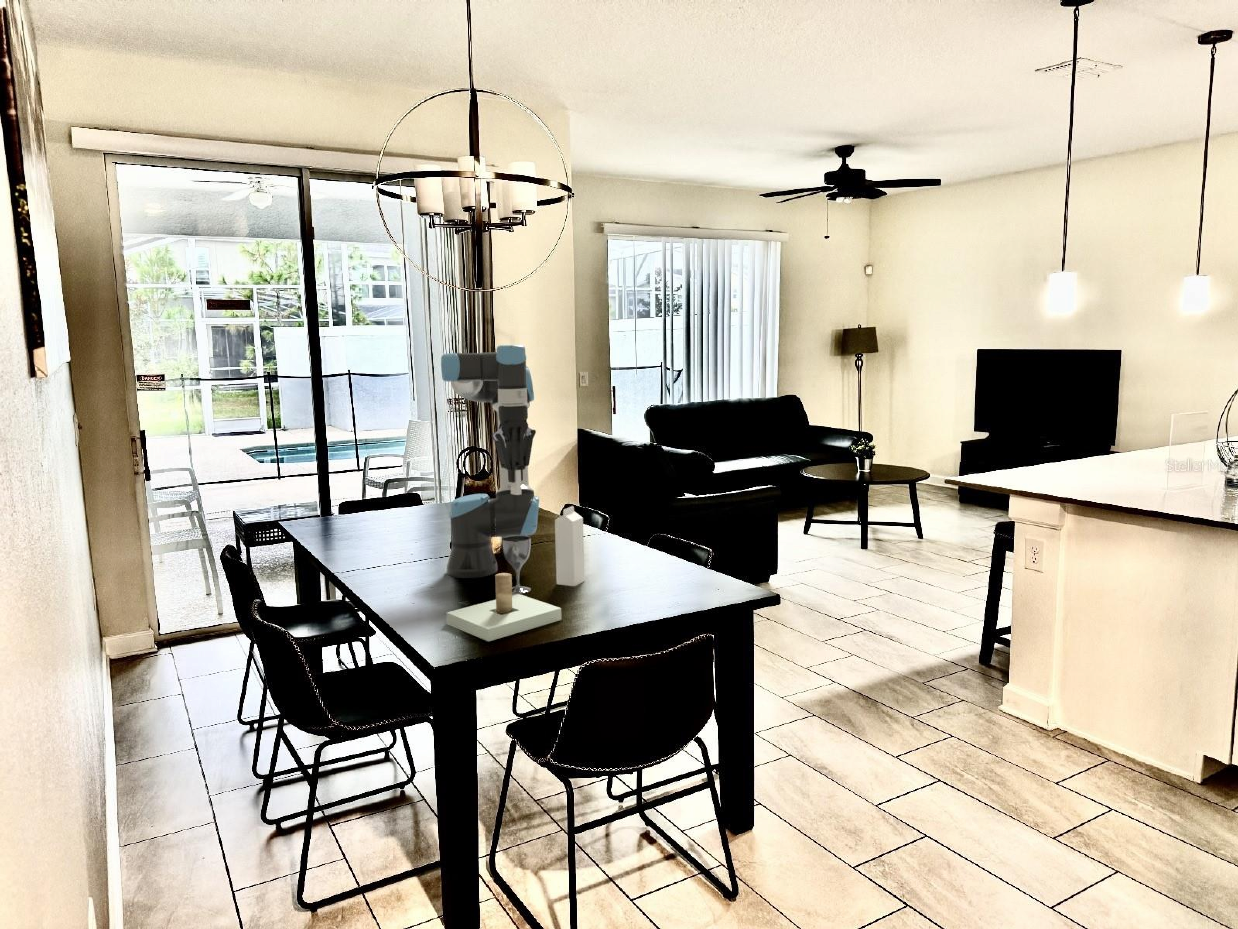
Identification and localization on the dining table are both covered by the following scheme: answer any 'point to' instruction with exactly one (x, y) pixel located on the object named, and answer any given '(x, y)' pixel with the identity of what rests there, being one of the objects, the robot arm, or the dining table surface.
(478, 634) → the board
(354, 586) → the dining table surface
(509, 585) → the peg
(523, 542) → the wine glass
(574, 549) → the milk
